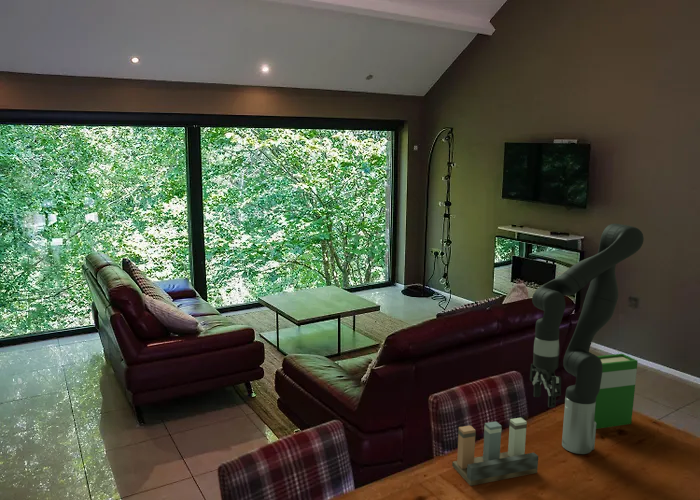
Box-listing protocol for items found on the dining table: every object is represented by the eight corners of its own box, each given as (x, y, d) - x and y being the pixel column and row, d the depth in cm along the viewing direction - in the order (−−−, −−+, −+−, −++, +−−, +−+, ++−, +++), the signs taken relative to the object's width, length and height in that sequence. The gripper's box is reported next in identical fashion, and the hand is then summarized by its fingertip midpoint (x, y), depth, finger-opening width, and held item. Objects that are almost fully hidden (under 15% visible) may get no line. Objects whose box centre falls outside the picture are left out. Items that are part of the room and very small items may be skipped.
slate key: (494, 457, 175) (496, 421, 173) (499, 462, 172) (501, 425, 170) (482, 459, 173) (484, 423, 171) (488, 464, 170) (490, 427, 168)
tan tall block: (468, 461, 172) (470, 425, 170) (473, 466, 169) (475, 430, 167) (456, 463, 171) (458, 427, 169) (461, 469, 168) (463, 431, 166)
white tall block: (518, 452, 177) (520, 417, 175) (524, 457, 174) (526, 421, 172) (507, 454, 176) (509, 419, 174) (513, 459, 173) (515, 423, 171)
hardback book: (590, 429, 197) (595, 365, 193) (576, 420, 204) (581, 357, 200) (631, 423, 201) (637, 360, 197) (616, 414, 208) (622, 353, 204)
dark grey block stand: (515, 454, 180) (517, 438, 179) (537, 472, 169) (538, 456, 168) (452, 465, 173) (452, 449, 172) (470, 485, 162) (471, 468, 161)
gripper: (570, 358, 168) (567, 409, 170) (544, 344, 181) (542, 392, 183) (547, 359, 166) (545, 411, 168) (523, 346, 180) (521, 394, 182)
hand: (544, 401), depth 176 cm, fingers open, 8 cm apart
